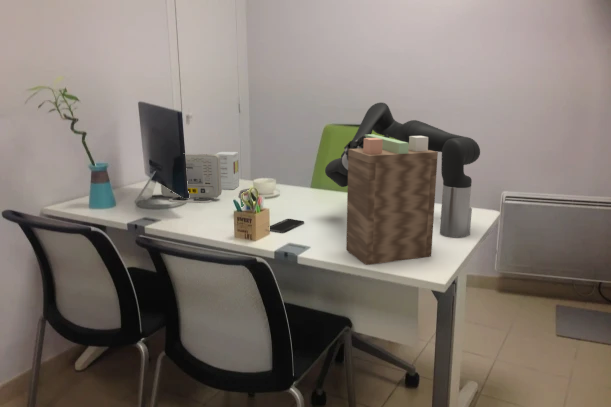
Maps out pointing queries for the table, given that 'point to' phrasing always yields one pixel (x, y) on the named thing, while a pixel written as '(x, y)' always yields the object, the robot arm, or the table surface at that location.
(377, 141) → the terracotta block
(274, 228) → the phone
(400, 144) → the sage green bar
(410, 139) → the grey block
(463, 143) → the robot arm
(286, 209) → the table surface
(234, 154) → the supplement box
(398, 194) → the walnut stand
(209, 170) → the network device
